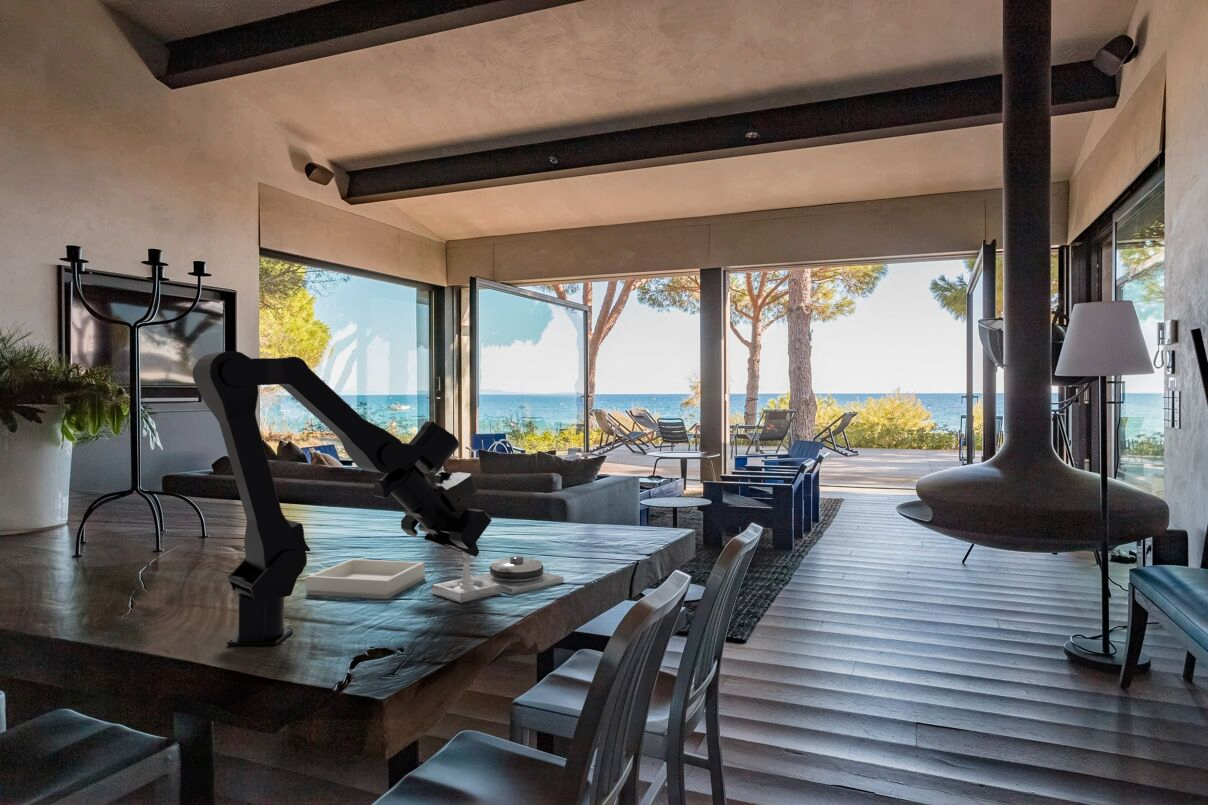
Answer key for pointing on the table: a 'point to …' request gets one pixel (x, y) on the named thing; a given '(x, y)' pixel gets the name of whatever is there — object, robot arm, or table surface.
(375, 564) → the tray
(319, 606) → the table surface
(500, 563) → the bracket
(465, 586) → the chess piece
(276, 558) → the robot arm
